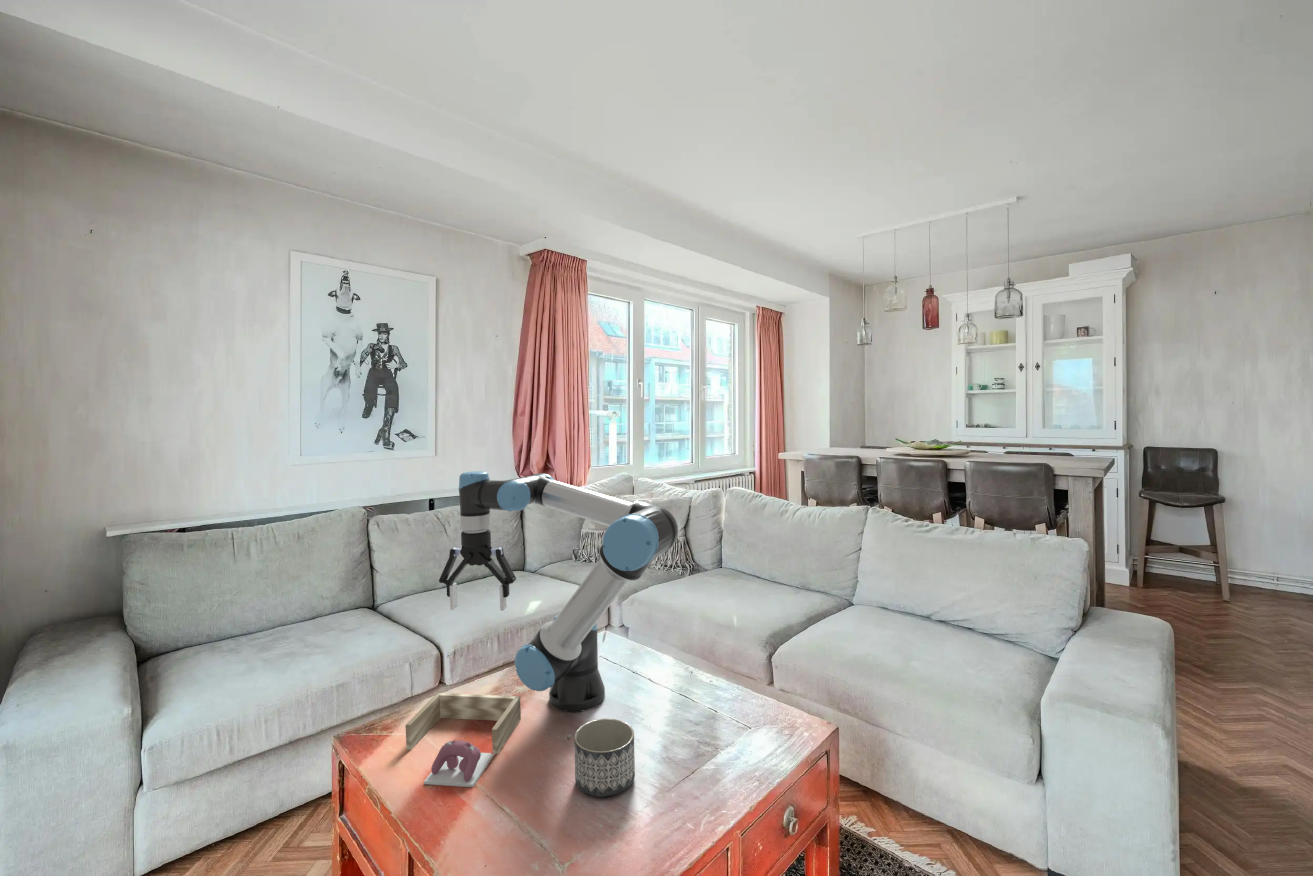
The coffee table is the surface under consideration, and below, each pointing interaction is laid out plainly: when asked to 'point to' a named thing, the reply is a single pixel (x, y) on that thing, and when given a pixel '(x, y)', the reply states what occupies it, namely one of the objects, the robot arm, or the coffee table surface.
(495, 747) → the bay
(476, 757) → the video game controller
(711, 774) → the coffee table surface
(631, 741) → the planter
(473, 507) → the robot arm
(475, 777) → the pad
